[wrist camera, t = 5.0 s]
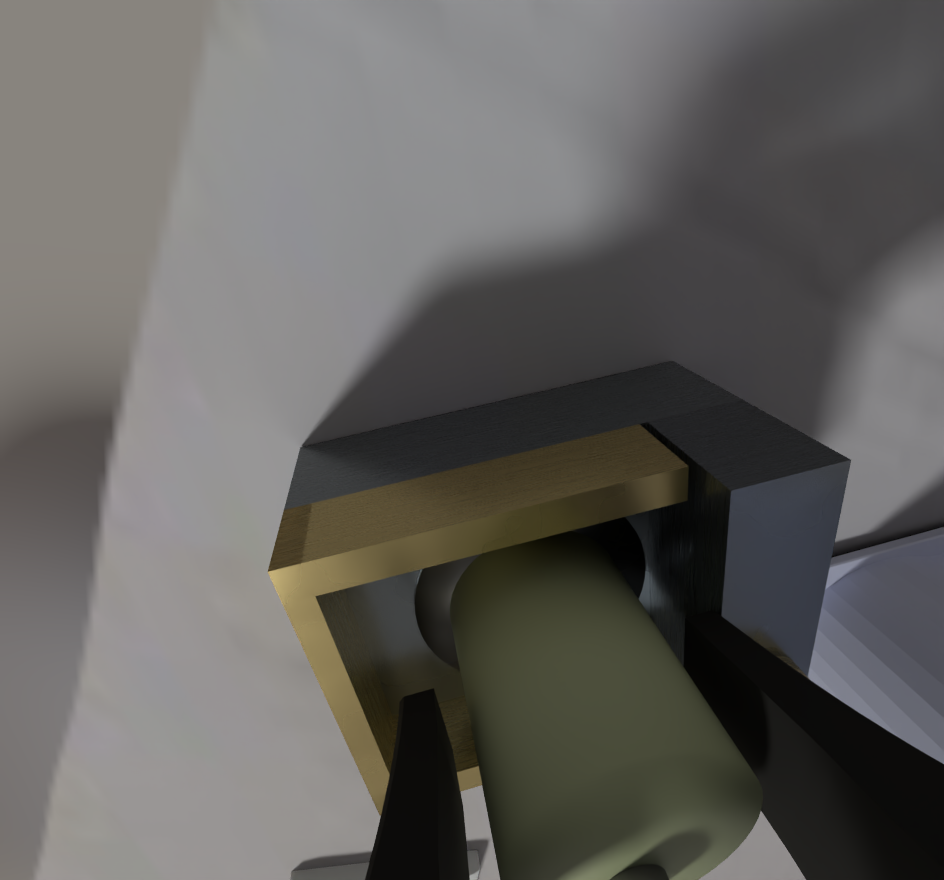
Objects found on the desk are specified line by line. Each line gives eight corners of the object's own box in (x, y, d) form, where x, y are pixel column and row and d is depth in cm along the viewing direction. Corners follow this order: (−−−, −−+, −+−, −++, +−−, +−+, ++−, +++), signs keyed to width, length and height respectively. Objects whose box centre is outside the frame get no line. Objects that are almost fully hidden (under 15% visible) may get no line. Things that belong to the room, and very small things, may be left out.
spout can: (618, 512, 12) (832, 787, 7) (616, 642, 14) (779, 938, 9) (437, 550, 12) (502, 882, 6) (461, 679, 14) (527, 1019, 8)
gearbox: (673, 361, 14) (891, 482, 8) (670, 575, 18) (821, 767, 12) (300, 447, 14) (246, 652, 8) (376, 654, 17) (381, 904, 11)
